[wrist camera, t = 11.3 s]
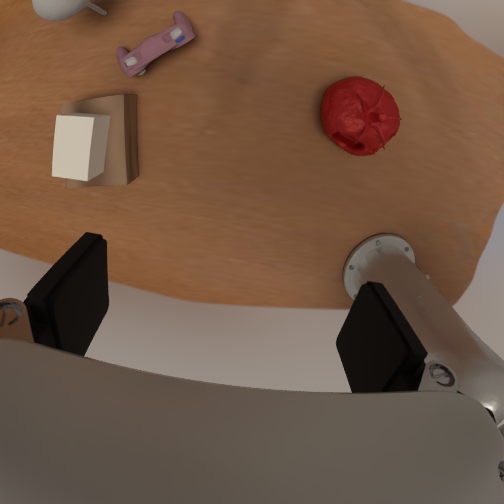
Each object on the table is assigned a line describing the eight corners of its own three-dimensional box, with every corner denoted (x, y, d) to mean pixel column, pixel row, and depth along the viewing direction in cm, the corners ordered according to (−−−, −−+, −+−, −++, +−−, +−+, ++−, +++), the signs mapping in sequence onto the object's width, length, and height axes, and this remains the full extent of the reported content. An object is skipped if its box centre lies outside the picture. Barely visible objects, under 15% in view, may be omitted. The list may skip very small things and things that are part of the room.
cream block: (110, 115, 30) (94, 117, 26) (103, 172, 33) (87, 181, 29) (75, 112, 29) (56, 115, 25) (70, 167, 32) (52, 176, 28)
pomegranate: (312, 77, 33) (331, 67, 25) (383, 82, 33) (418, 78, 25) (315, 151, 38) (335, 162, 29) (384, 152, 38) (418, 164, 29)
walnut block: (137, 95, 34) (124, 94, 29) (139, 175, 38) (127, 184, 34) (78, 103, 33) (60, 104, 29) (83, 178, 38) (66, 188, 34)
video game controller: (133, 73, 33) (127, 88, 29) (114, 49, 30) (105, 60, 25) (197, 33, 31) (203, 42, 27) (180, 7, 28) (183, 10, 23)
